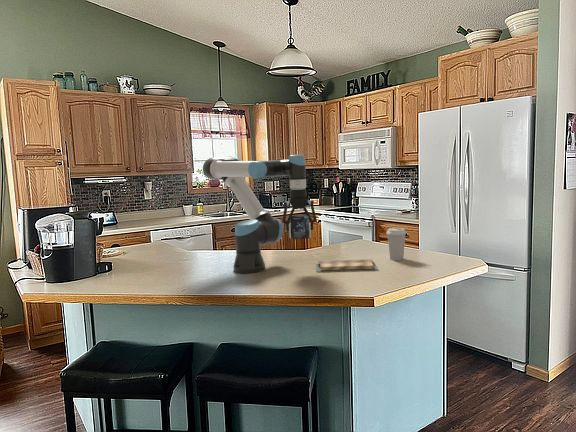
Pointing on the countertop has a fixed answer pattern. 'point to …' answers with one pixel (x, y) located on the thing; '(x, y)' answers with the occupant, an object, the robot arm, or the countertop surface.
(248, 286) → the countertop surface
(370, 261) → the floor strip
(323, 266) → the plank
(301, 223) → the box
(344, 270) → the underlay
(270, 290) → the countertop surface
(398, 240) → the coffee cup
